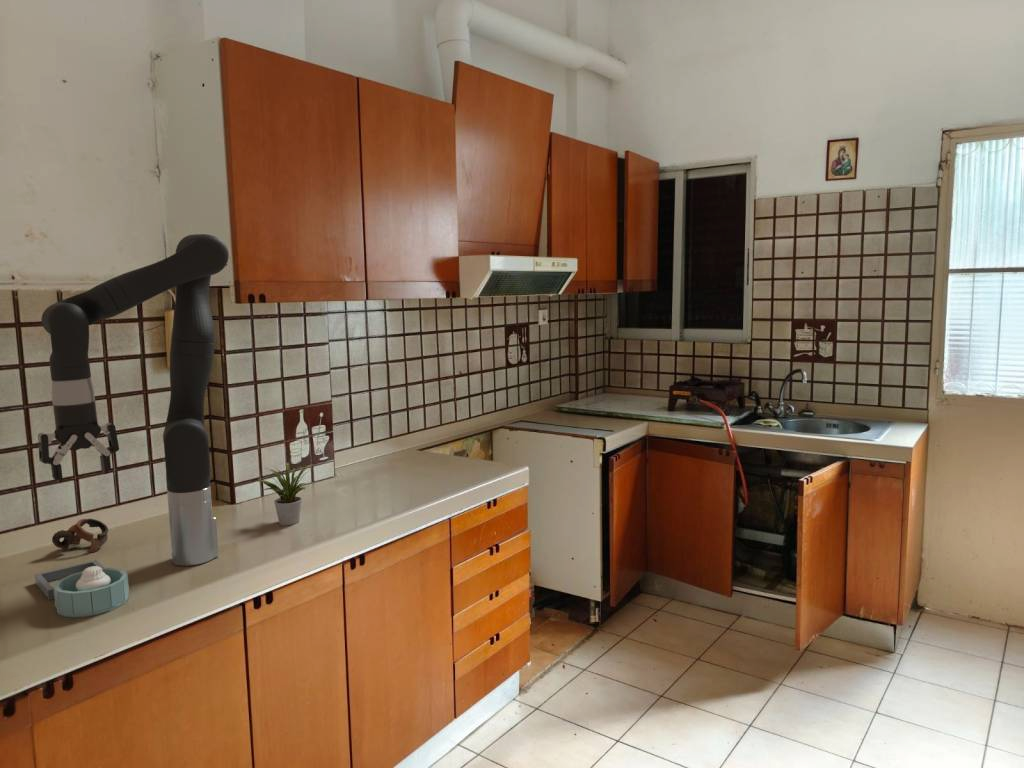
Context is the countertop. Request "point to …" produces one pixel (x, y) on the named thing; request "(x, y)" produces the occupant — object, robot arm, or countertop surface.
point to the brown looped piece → (81, 535)
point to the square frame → (60, 576)
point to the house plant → (287, 496)
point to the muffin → (92, 579)
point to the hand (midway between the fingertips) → (83, 477)
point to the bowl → (91, 595)
